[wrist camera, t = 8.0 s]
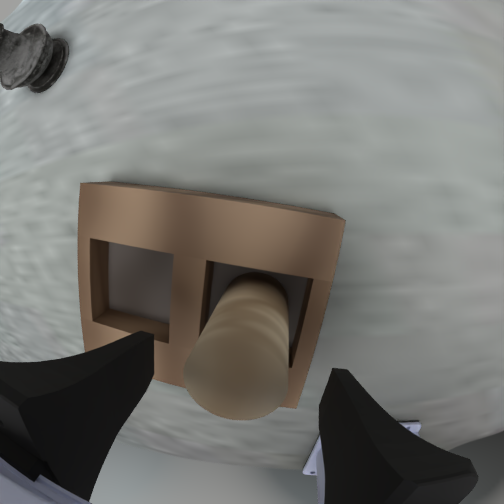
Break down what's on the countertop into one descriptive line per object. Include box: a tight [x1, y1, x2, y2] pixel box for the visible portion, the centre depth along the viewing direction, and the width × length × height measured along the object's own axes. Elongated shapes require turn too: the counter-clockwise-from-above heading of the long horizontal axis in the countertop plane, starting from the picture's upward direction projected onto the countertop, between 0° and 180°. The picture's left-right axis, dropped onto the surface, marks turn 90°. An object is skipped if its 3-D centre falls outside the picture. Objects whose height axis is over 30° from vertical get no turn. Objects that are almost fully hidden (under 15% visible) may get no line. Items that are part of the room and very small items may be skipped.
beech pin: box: [183, 272, 289, 420], centre depth 14 cm, size 4×4×8 cm
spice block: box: [78, 182, 345, 409], centre depth 18 cm, size 15×12×4 cm
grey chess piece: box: [0, 23, 69, 93], centre depth 11 cm, size 6×6×12 cm
